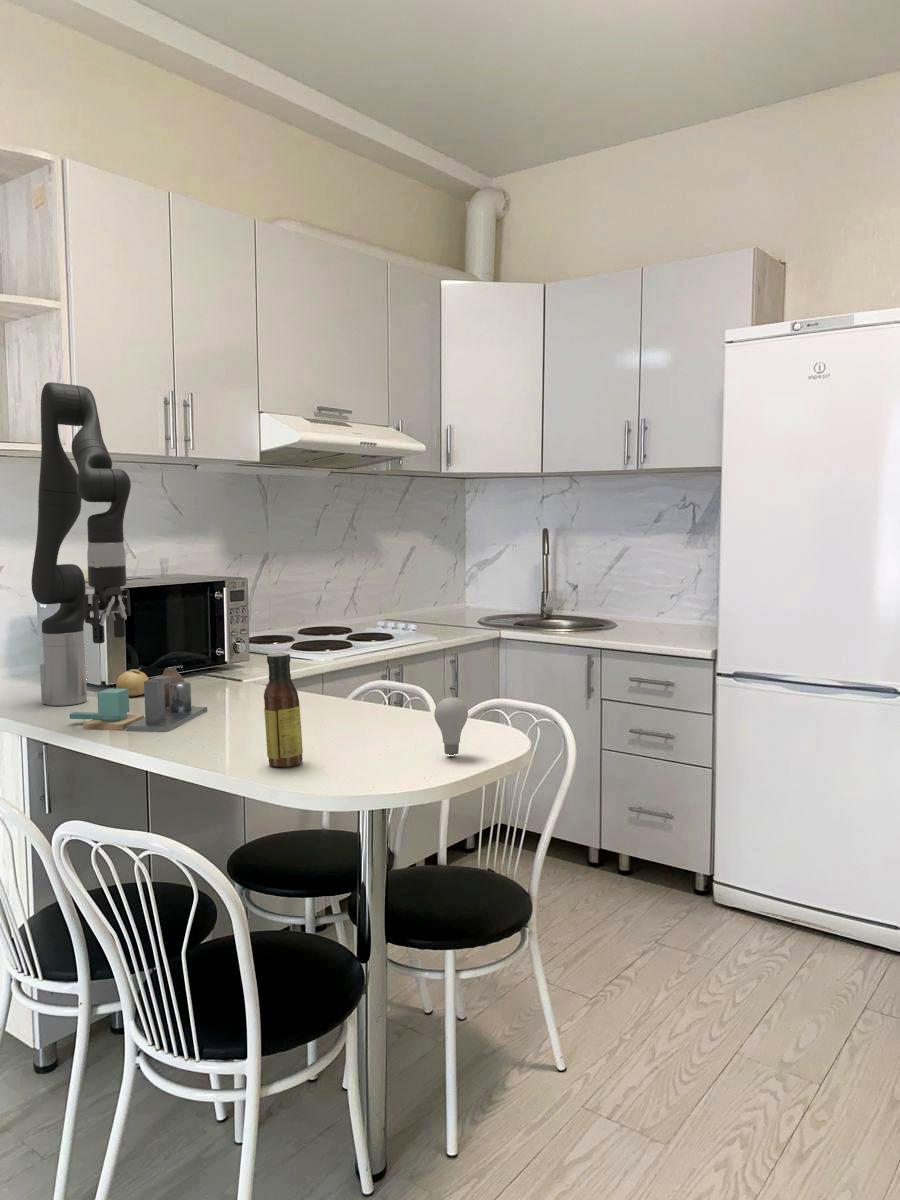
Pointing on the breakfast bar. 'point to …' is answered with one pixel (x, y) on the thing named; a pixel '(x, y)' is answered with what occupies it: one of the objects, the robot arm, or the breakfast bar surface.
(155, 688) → the post
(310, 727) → the breakfast bar surface
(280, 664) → the sauce bottle
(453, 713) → the lightbulb
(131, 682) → the onion
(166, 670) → the vase
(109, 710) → the teal block with handle
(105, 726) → the wooden coaster
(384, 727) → the breakfast bar surface
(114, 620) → the robot arm
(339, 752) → the breakfast bar surface
